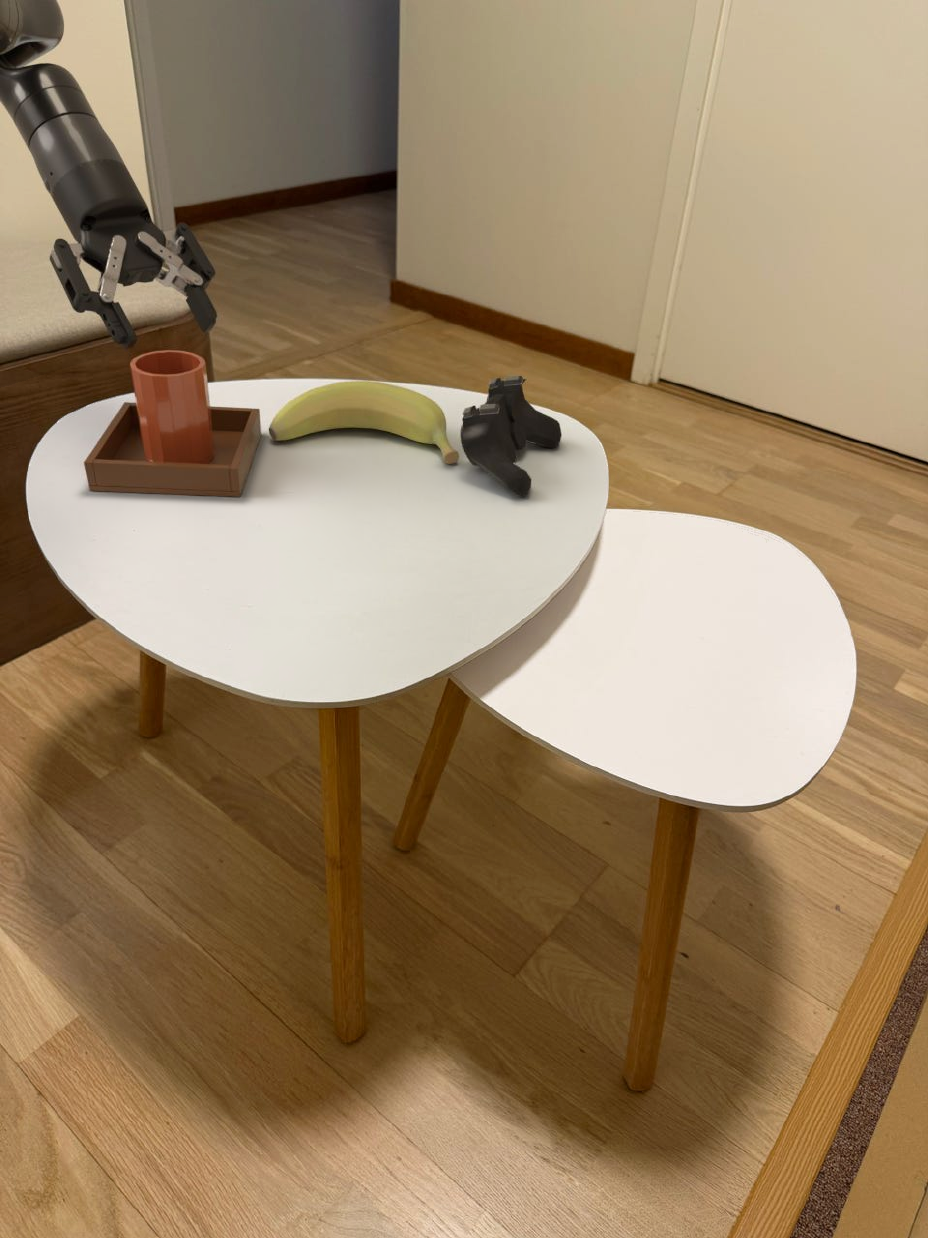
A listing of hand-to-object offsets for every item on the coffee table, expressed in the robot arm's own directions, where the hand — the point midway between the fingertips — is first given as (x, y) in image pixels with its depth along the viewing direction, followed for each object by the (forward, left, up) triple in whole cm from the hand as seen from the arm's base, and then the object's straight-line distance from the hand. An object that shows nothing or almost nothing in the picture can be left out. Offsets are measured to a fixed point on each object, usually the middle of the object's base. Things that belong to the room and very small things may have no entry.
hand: (172, 335), depth 85 cm
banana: (+19, +7, -14) cm, 25 cm away
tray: (-1, +1, -14) cm, 14 cm away
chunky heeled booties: (+34, +4, -14) cm, 37 cm away
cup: (-1, +1, -13) cm, 13 cm away
